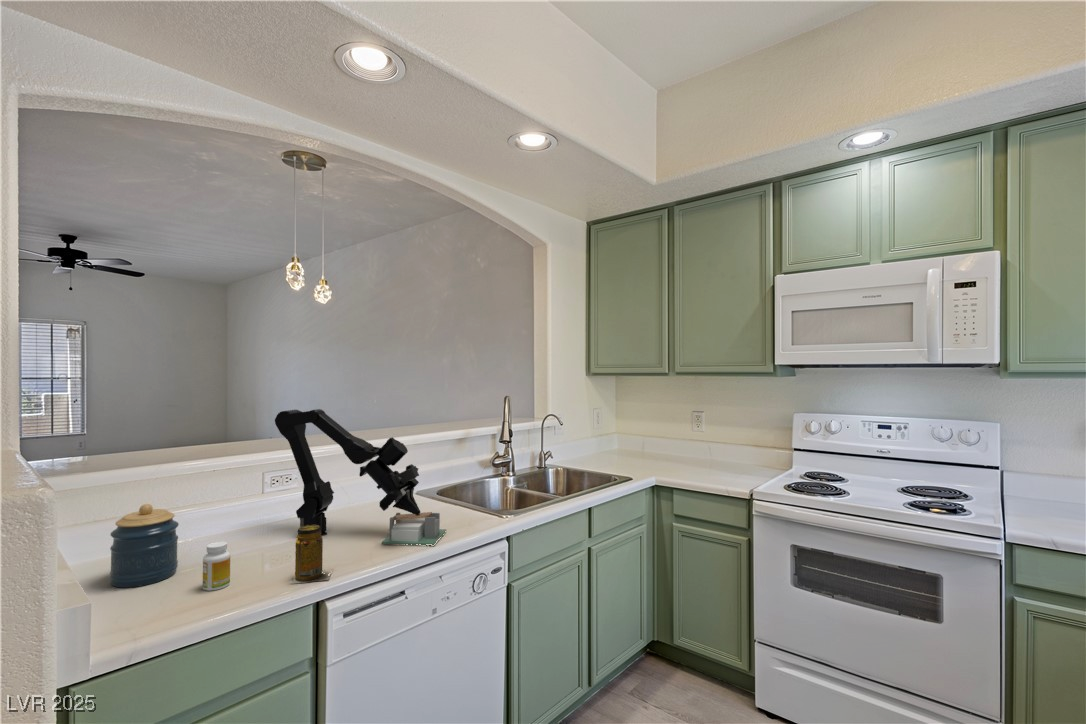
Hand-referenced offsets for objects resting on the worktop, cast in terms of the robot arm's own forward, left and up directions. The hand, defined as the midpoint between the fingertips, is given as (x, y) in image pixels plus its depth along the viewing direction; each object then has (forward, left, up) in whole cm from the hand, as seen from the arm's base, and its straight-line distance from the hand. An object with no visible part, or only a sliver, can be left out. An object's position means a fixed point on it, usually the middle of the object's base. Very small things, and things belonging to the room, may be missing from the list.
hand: (419, 513), depth 151 cm
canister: (-63, +22, -8) cm, 67 cm away
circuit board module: (-1, +1, -7) cm, 8 cm away
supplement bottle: (-52, +4, -8) cm, 52 cm away
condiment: (-34, -6, -8) cm, 35 cm away
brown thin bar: (-5, +6, -1) cm, 8 cm away
